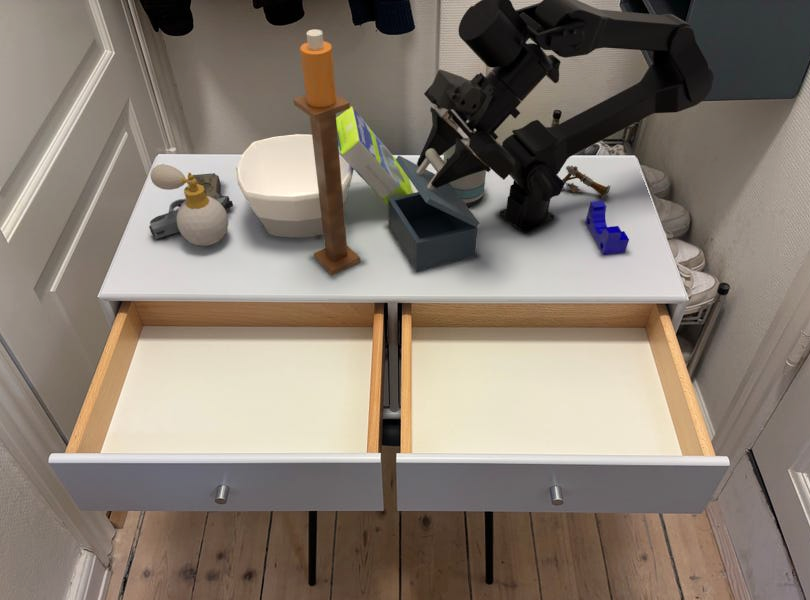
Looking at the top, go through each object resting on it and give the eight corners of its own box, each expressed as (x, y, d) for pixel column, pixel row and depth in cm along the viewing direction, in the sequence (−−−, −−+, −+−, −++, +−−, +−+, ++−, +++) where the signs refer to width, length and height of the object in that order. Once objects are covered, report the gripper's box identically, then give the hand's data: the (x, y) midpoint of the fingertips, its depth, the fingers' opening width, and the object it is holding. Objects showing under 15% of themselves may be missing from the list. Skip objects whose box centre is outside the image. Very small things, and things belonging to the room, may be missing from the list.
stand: (341, 245, 102) (327, 87, 83) (360, 262, 99) (349, 102, 80) (314, 258, 100) (292, 98, 81) (332, 275, 97) (314, 114, 78)
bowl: (356, 181, 113) (352, 130, 106) (359, 247, 101) (355, 194, 94) (251, 186, 112) (240, 135, 105) (241, 253, 100) (229, 200, 93)
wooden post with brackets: (554, 180, 111) (570, 160, 108) (594, 204, 112) (611, 184, 109) (552, 186, 110) (568, 165, 107) (593, 210, 111) (610, 190, 108)
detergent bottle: (325, 90, 82) (319, 23, 76) (341, 101, 80) (336, 33, 74) (300, 99, 81) (292, 31, 75) (316, 110, 79) (309, 42, 73)
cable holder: (624, 252, 100) (631, 231, 97) (602, 254, 100) (608, 233, 97) (606, 220, 105) (612, 199, 102) (585, 222, 105) (590, 201, 102)
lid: (426, 203, 89) (447, 173, 87) (395, 159, 96) (414, 131, 94) (476, 227, 95) (497, 200, 93) (444, 184, 103) (463, 159, 101)
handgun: (130, 190, 108) (151, 229, 100) (212, 166, 112) (237, 202, 105) (135, 203, 109) (155, 242, 102) (216, 179, 114) (240, 215, 107)
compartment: (416, 271, 97) (416, 243, 93) (388, 227, 105) (388, 198, 101) (475, 256, 100) (478, 227, 96) (444, 213, 107) (445, 185, 103)
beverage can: (436, 203, 109) (439, 136, 100) (448, 180, 113) (452, 114, 104) (477, 211, 107) (484, 143, 98) (487, 187, 112) (495, 121, 103)
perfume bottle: (230, 252, 100) (213, 184, 91) (165, 257, 100) (141, 189, 91) (233, 222, 105) (217, 155, 96) (171, 227, 105) (149, 159, 96)
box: (419, 207, 104) (351, 129, 93) (398, 221, 106) (329, 147, 94) (408, 170, 111) (343, 94, 100) (388, 184, 113) (322, 110, 101)
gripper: (440, 20, 88) (364, 113, 93) (505, 81, 76) (413, 183, 82) (488, 70, 95) (415, 153, 101) (553, 132, 84) (466, 223, 89)
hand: (426, 175), depth 93 cm, fingers closed on lid, 5 cm apart
